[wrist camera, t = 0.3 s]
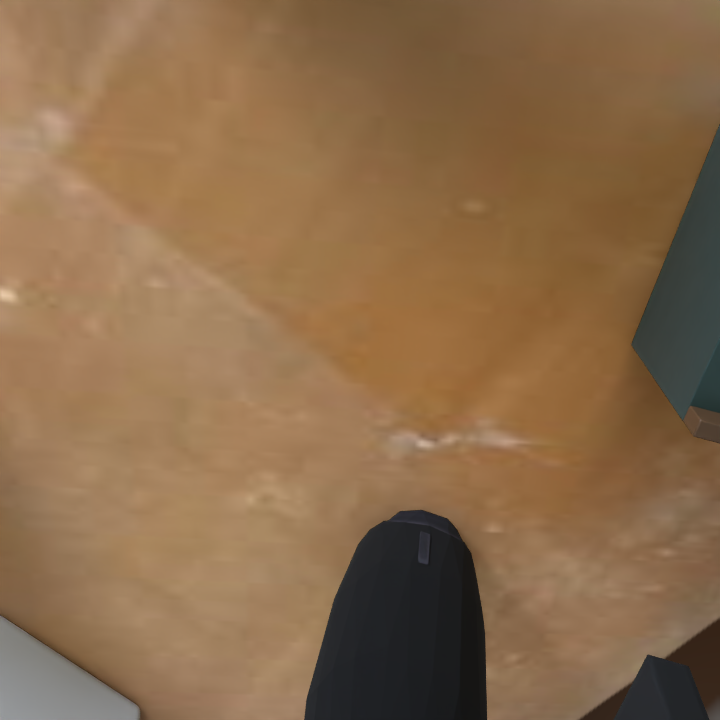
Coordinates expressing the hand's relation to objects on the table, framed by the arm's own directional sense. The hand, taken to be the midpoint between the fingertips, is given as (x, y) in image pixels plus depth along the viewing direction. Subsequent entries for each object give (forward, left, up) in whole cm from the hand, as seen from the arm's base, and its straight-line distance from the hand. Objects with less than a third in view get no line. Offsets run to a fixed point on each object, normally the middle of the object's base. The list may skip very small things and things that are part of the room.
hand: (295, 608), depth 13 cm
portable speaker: (+19, +5, -28) cm, 34 cm away
